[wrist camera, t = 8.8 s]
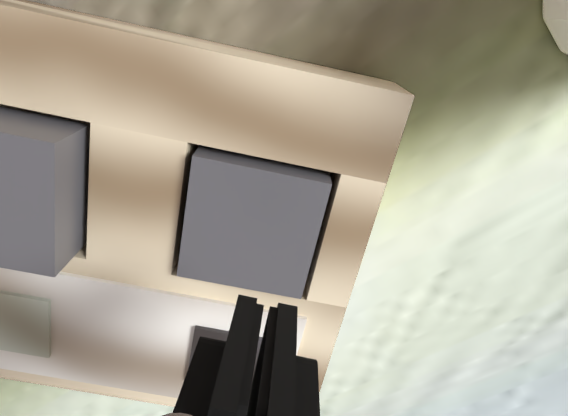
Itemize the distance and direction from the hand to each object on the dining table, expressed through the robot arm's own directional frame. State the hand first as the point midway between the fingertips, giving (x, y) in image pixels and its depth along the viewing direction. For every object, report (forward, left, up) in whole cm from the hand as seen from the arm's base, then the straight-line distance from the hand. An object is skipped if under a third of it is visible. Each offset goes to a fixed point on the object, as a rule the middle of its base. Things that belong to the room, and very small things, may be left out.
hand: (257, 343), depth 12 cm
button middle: (+1, +10, -6) cm, 12 cm away
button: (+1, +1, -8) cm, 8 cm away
